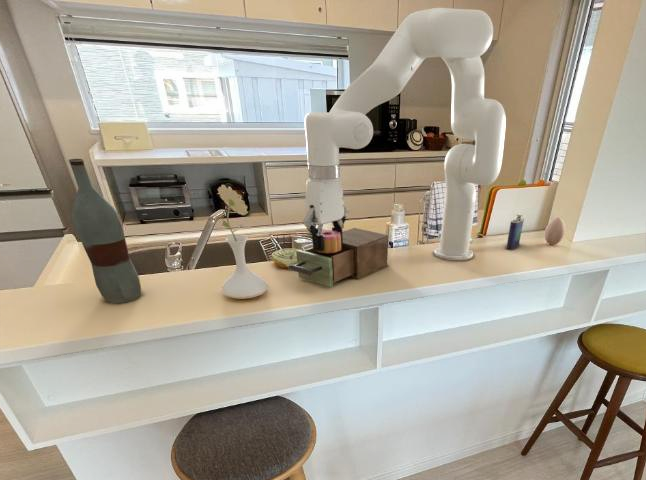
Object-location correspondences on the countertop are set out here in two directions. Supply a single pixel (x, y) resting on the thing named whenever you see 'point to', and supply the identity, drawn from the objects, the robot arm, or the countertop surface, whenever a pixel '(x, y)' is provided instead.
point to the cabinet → (366, 250)
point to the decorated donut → (285, 257)
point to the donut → (331, 241)
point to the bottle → (103, 241)
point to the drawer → (325, 265)
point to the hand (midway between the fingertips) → (328, 246)
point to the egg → (555, 231)
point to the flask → (515, 233)
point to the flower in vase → (239, 254)
